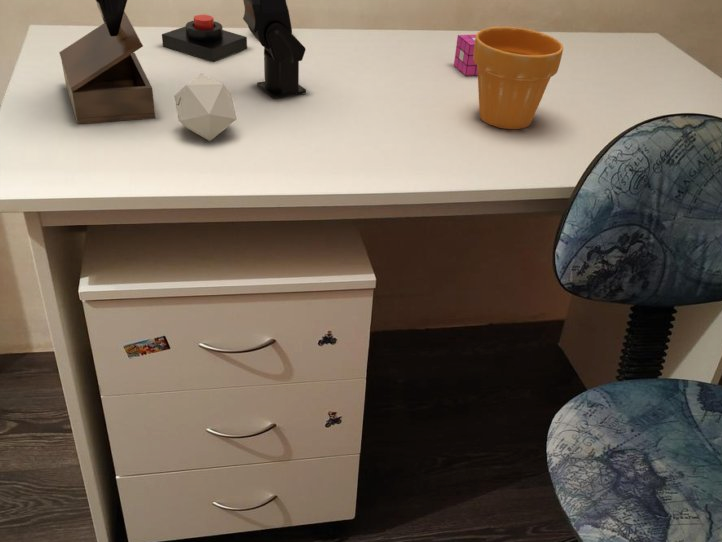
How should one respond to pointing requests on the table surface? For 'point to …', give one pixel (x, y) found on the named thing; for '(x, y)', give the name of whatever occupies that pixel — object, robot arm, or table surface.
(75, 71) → the lid
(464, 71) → the puzzle toy
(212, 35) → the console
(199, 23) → the release button
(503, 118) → the flower pot
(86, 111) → the compartment
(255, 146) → the table surface
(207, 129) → the die
